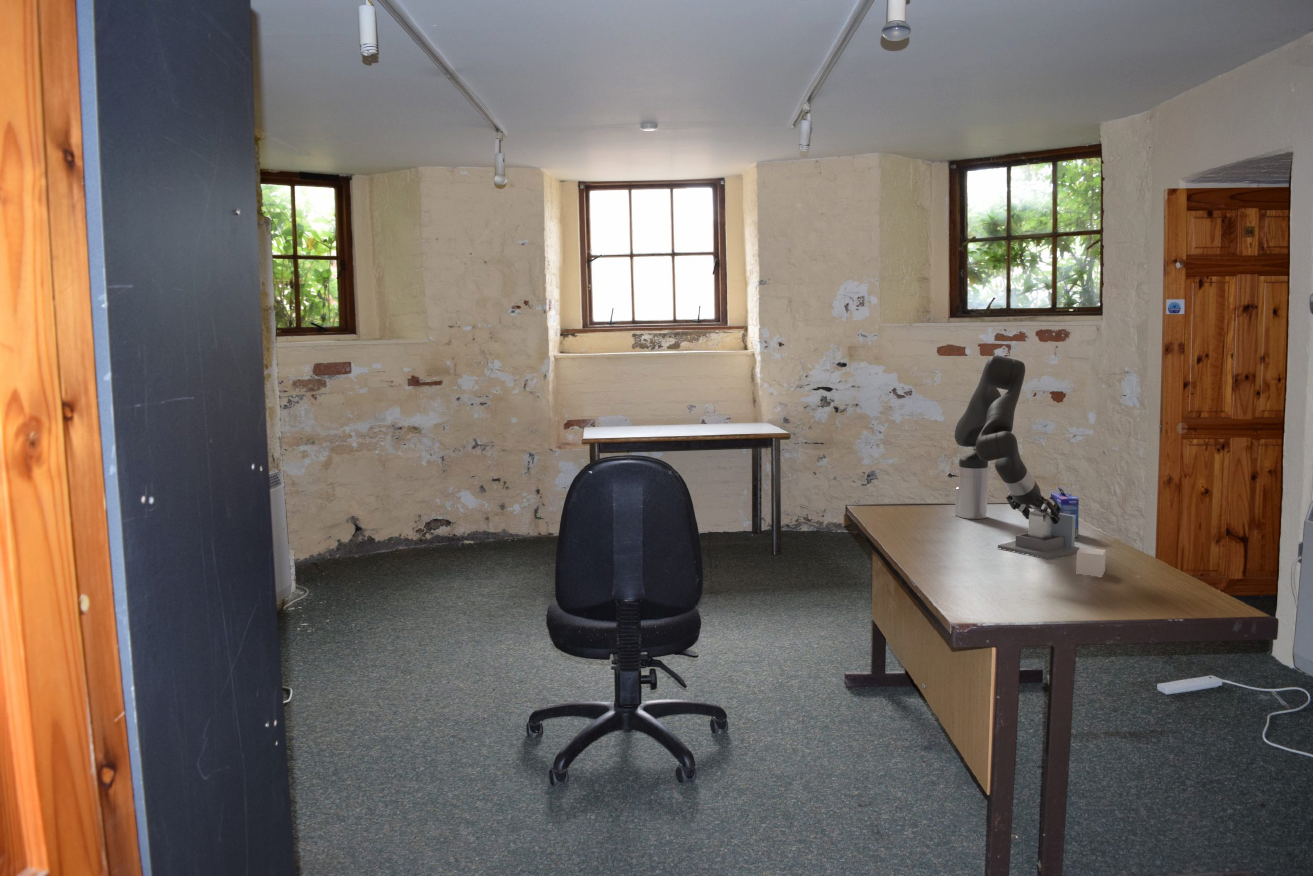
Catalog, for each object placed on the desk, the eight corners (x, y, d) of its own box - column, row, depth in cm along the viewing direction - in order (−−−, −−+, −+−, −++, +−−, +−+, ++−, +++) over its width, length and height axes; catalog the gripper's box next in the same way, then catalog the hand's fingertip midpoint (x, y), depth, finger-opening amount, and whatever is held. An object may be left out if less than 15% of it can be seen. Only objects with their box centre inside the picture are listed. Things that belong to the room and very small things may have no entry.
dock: (997, 548, 252) (998, 514, 251) (1030, 540, 261) (1031, 508, 260) (1049, 559, 239) (1050, 524, 238) (1081, 551, 248) (1082, 516, 247)
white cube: (1101, 577, 221) (1102, 554, 220) (1075, 574, 224) (1076, 551, 224) (1104, 572, 226) (1105, 549, 225) (1079, 569, 229) (1080, 547, 229)
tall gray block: (1027, 546, 250) (1029, 511, 249) (1036, 543, 253) (1038, 510, 252) (1041, 549, 247) (1043, 514, 246) (1050, 546, 249) (1052, 512, 248)
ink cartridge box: (1048, 530, 274) (1050, 485, 273) (1066, 530, 274) (1068, 485, 272) (1059, 537, 265) (1061, 490, 263) (1078, 538, 264) (1080, 490, 262)
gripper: (1050, 477, 237) (1072, 513, 245) (1004, 470, 249) (1026, 505, 257) (1038, 498, 235) (1060, 534, 243) (992, 491, 247) (1014, 525, 254)
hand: (1042, 519), depth 250 cm, fingers open, 8 cm apart
